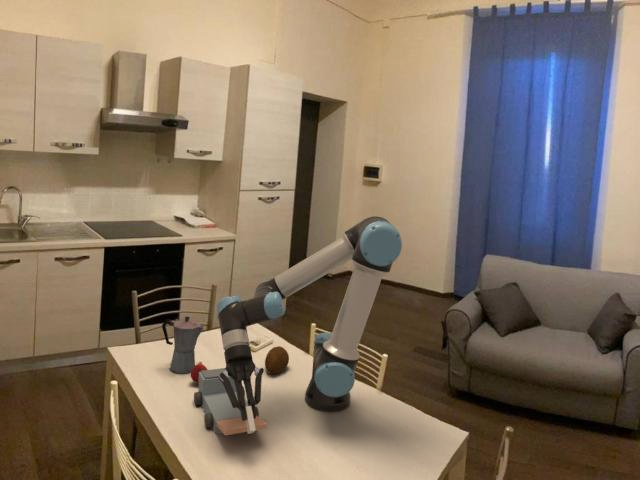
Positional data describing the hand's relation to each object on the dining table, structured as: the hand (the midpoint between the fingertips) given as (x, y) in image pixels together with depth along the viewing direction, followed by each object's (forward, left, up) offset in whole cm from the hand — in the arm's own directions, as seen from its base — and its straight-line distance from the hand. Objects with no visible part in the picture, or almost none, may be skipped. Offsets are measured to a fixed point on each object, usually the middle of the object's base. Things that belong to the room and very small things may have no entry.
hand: (251, 431), depth 142 cm
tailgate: (+9, -12, -4) cm, 16 cm away
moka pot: (+44, -42, -8) cm, 61 cm away
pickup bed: (+16, -20, -8) cm, 27 cm away
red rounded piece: (+33, -34, -8) cm, 48 cm away
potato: (+13, -55, -8) cm, 57 cm away
